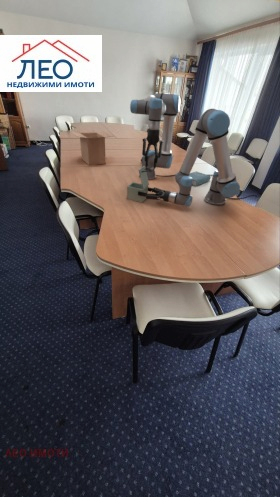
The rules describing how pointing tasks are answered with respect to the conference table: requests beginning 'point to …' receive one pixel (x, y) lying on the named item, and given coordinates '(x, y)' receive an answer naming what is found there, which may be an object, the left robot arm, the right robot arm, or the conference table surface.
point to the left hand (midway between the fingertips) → (150, 167)
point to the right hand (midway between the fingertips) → (140, 190)
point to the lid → (145, 176)
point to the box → (92, 146)
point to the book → (199, 178)
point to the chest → (136, 192)
